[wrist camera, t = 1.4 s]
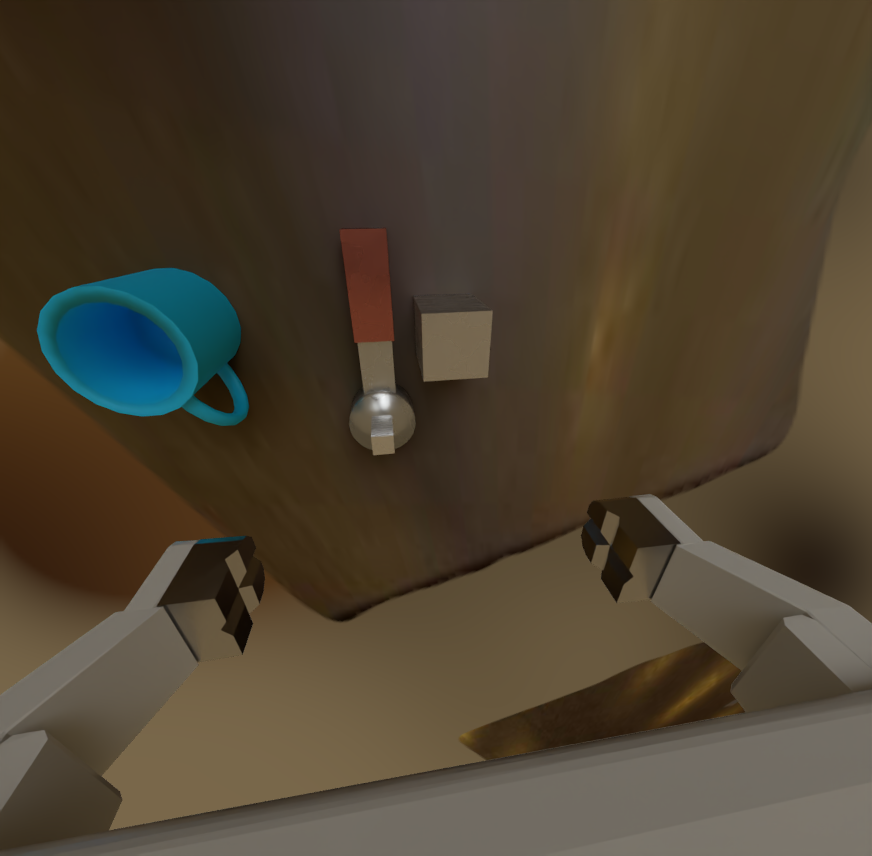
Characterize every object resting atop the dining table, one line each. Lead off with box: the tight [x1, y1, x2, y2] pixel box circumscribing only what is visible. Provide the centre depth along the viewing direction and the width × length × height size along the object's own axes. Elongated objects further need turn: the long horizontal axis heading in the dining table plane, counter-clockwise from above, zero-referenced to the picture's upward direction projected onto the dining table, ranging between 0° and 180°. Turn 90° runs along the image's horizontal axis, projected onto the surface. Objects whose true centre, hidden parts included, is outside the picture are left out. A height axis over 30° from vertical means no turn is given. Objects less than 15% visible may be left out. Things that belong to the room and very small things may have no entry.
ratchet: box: [340, 228, 416, 455], centre depth 28 cm, size 18×6×6 cm, turn 1°
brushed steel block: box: [413, 294, 493, 382], centre depth 28 cm, size 5×5×6 cm
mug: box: [37, 268, 249, 426], centre depth 26 cm, size 12×8×8 cm
